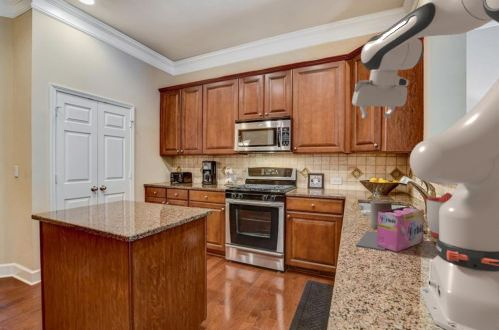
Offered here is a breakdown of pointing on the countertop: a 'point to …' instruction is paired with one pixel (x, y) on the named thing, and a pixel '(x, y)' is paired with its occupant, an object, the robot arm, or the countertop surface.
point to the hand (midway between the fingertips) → (375, 118)
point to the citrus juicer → (435, 212)
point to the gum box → (400, 228)
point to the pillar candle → (378, 210)
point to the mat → (370, 241)
